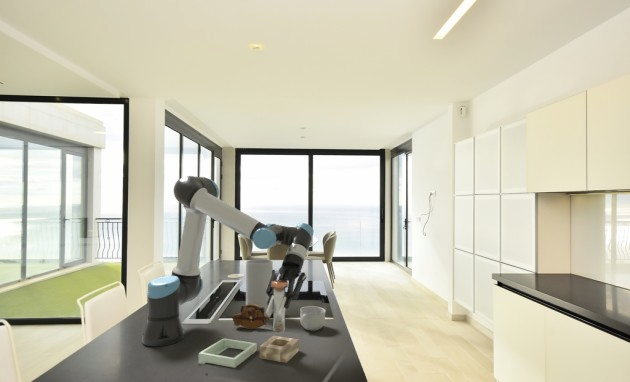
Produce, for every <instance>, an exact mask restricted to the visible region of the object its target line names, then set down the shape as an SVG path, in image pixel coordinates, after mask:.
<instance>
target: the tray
mask: <svg viewBox="0 0 630 382" xmlns="http://www.w3.org/2000/svg"><path fill="white" fill-rule="evenodd" d="M257 347H258V343H256V342H249V341H244V340H236V339H231V338H225V337H223V338H222V339H220V340H218V341H216V342H215V343H213V344H211V345H210V346H208V347H207V348H205V349H202V351H200V352H199V353H198V365H204V364H206V363H207V364H214V365H217V366H224V367H229V368H234V369H236V368H237V367H238V366H239V365H240V364H241V363H243V362H245V361H246V360H247V359H248V358H250V357H251V355H253V354H255V353H256V352H257V351H258V348H257ZM229 348H231V349H238V350H242V352H239V354H237V355H235V356H234V357H230V356H225V355H220V354H221V353H222V352H224V351H226V350H227V349H229Z"/></svg>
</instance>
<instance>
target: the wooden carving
mask: <svg viewBox="0 0 630 382" xmlns="http://www.w3.org/2000/svg"><path fill="white" fill-rule="evenodd" d="M240 312H241V313H240ZM240 312H239V313H236V314H233V315H232V316H231V319H232V321H233V324H234V326H235V327H239V326H241V327H242V328H245V329H249V330H255V329H259V328H261V327H263V326H265V325H267V322H266V321H267V320H269V319H271V316H270V317H269V316H265V315H264V312H265V309H264V307H261V306H259V305H256V304H248V305H246V304H243V305H241V308H240Z"/></svg>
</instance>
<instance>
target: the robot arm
mask: <svg viewBox="0 0 630 382" xmlns="http://www.w3.org/2000/svg"><path fill="white" fill-rule="evenodd" d="M219 190H220V189H219V187H218V185H217V183H216V182H215V181H214V180H213V179H211V178H208V177H204V176H193V175H185V176H182V177H180V178H179V179H177V181H176V182H175V184H174V187H173V195H174V197H175V198H174V199H176V200H177V202H179V203H180V204H181V205H182V206H183V208H184V210H185V218H184V222H183V227H182V228H183V229H182V234H181V240H180V246H179V251H178V252H179V253H178V257H177V262H176V263H177V264H176V266H175V267H174V268H172V270H171V275H164V276H160V277H159V276H158V277H156V278H154V279H152V280H150V281H149V283H148V285H147V290H146V296H147V310H146V312H147V313H146V314H147V317H146V318H147V319H146V320H147V321H146V324H145V327H144V330H143V333H142V335H141V336H142V337H141V342H142V344H143V345H145V346H147V347H162V346H168V345H172V344H175V343H178V342H180V341H181V340H183V339H184V337H185V331H184V329H185V328H183V325H182V321H181V319H180V306H182V305H184V304H186V303H188V302H190V301H193V300H194V299H196V298H197V297H198V296H199V295H200V294H201V292H202V291H203V288H204V282H203V279H202V276H201V270H200V269H199V262H200V259H201V258H200V256H201V251H202V245H203V239H204V233H205V227H206V221H207V216H208V217H210V218H212V220H215V221H216V222H218V223H220V224H221V225H224V226H225V227H227V228H229V229H230V230H232V231H233V232H236V233H237V234H239V235H241V236H243V237H245V238H247V239H248V240H250V241H252V242H253V245H254V246H255V247H256V248H258V249H260V250H268V249H270V248H272V247H275V246H277V245H282V246H287V247H288V248H287V249H286V253H285V255H284V257H283V261H282V264H281V266H280V268H279V269H277V270H275V269H273V270H272V276H271V279H270V282H269V285H268V287H267V290H266V293H267V295H268V296H269V299H268V302H267V305H268V308H267V310H266V314H267V315H268V317H270V318H271V317H272V314H273V313H272V311H273V306H274V288H272V287H271V282H272V281H275V280H285V281H288V287H287V291H286V294H285V297H284V299H283V302H282V304H281V307H280V310H279V313H278V315H279V316H280V318H283V316H284V313H285V314H286V310H287V309H289V308H290V305H291V302H292V301H293V300H295V301H297V299H298V298H299V296H300V295H299V294H300V292H301V290H302V287H303V284H304V281H305V280H307V278H308V277H307V275H306V272H302V269H303V266H304V262H305V260H306V257H307V254H308V250H309V247H310V246H311V242H312V240H313V235H314V231H315V230H314V229H313V227H312V226H311V225H310V224H308V223H305V222H301V223H300V222H299V223H298V224H297V225H296V226H295V227H293V226H292V227H291V226H285V225H281V224H280V225H279V224H276V223H266V224H264V223H262V222H261V221H259V220H257V219H255V217H252V216H250V215H249V214H246V213H245V212H243V211H241V210H239V209H237V207H235V206H233V205H231V204H229V203H227V202H225V201H223V200H222V199H219V194H220V192H219ZM296 279H297V281H296ZM295 282H296V284H295ZM271 313H272V314H271Z"/></svg>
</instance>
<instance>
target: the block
mask: <svg viewBox="0 0 630 382" xmlns="http://www.w3.org/2000/svg"><path fill="white" fill-rule="evenodd" d="M299 340H300V339H298V338H292V337H291V338H290V337H285V336H277V335H272V336H271V337H270V338H268V339H267V340H265V342H263V343H262V344H261V345H259V359H262V360H263V359H264V360H268V361H275V362H280V363H285V364H286V363H288V362H289V361H290V360H291V359H293V357H294V356H295V355H296V354H298V352H299V351H300V344H299V343H300V341H299Z"/></svg>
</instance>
